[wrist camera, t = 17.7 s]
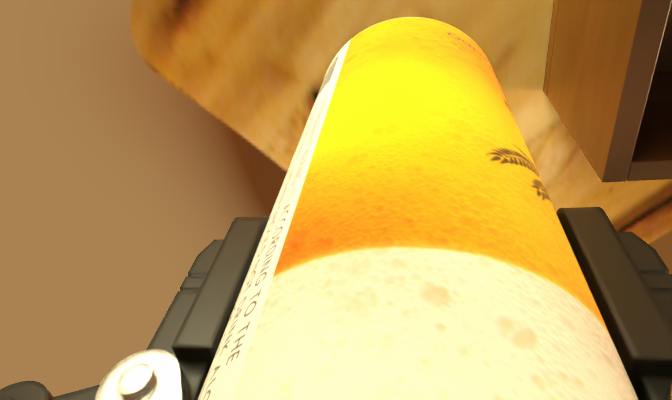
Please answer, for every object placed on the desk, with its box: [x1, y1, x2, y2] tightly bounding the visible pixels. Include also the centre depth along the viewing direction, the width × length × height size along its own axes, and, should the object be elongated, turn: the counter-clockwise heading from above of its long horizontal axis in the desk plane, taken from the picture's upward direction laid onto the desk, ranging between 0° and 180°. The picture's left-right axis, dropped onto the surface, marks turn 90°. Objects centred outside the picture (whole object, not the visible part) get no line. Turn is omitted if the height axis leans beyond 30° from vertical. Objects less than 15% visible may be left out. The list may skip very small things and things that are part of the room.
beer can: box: [198, 17, 638, 400], centre depth 11 cm, size 6×6×15 cm
